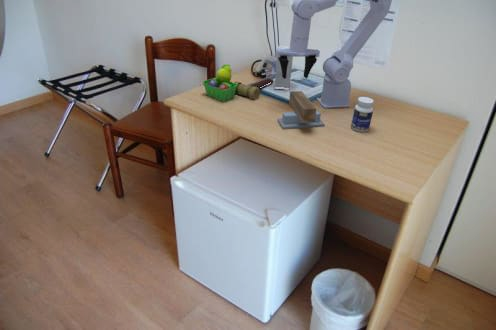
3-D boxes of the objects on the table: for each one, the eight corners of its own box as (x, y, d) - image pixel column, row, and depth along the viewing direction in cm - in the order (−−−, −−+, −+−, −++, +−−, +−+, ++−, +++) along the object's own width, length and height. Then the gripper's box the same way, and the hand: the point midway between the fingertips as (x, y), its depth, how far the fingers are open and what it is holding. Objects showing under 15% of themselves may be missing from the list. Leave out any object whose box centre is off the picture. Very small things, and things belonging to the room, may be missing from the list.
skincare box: (274, 82, 162) (277, 45, 154) (289, 83, 162) (293, 46, 154) (274, 90, 155) (276, 51, 147) (289, 91, 155) (293, 52, 147)
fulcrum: (317, 118, 135) (319, 108, 133) (324, 126, 130) (325, 116, 128) (277, 120, 132) (278, 110, 131) (282, 129, 128) (283, 118, 126)
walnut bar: (300, 103, 136) (301, 91, 134) (314, 122, 125) (316, 108, 122) (289, 104, 135) (290, 91, 133) (302, 122, 124) (303, 109, 121)
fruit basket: (201, 94, 149) (200, 64, 143) (219, 88, 155) (218, 59, 148) (223, 104, 143) (223, 73, 136) (240, 97, 148) (241, 67, 142)
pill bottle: (356, 133, 127) (362, 104, 122) (347, 125, 132) (353, 96, 126) (372, 131, 128) (378, 102, 123) (363, 123, 133) (369, 95, 128)
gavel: (263, 71, 164) (284, 77, 159) (262, 82, 166) (283, 88, 161) (231, 82, 148) (253, 89, 143) (230, 94, 151) (252, 101, 146)
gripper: (281, 40, 126) (277, 82, 133) (325, 40, 129) (318, 81, 136) (275, 34, 131) (271, 74, 139) (317, 34, 134) (311, 74, 142)
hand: (294, 77), depth 138 cm, fingers open, 7 cm apart
